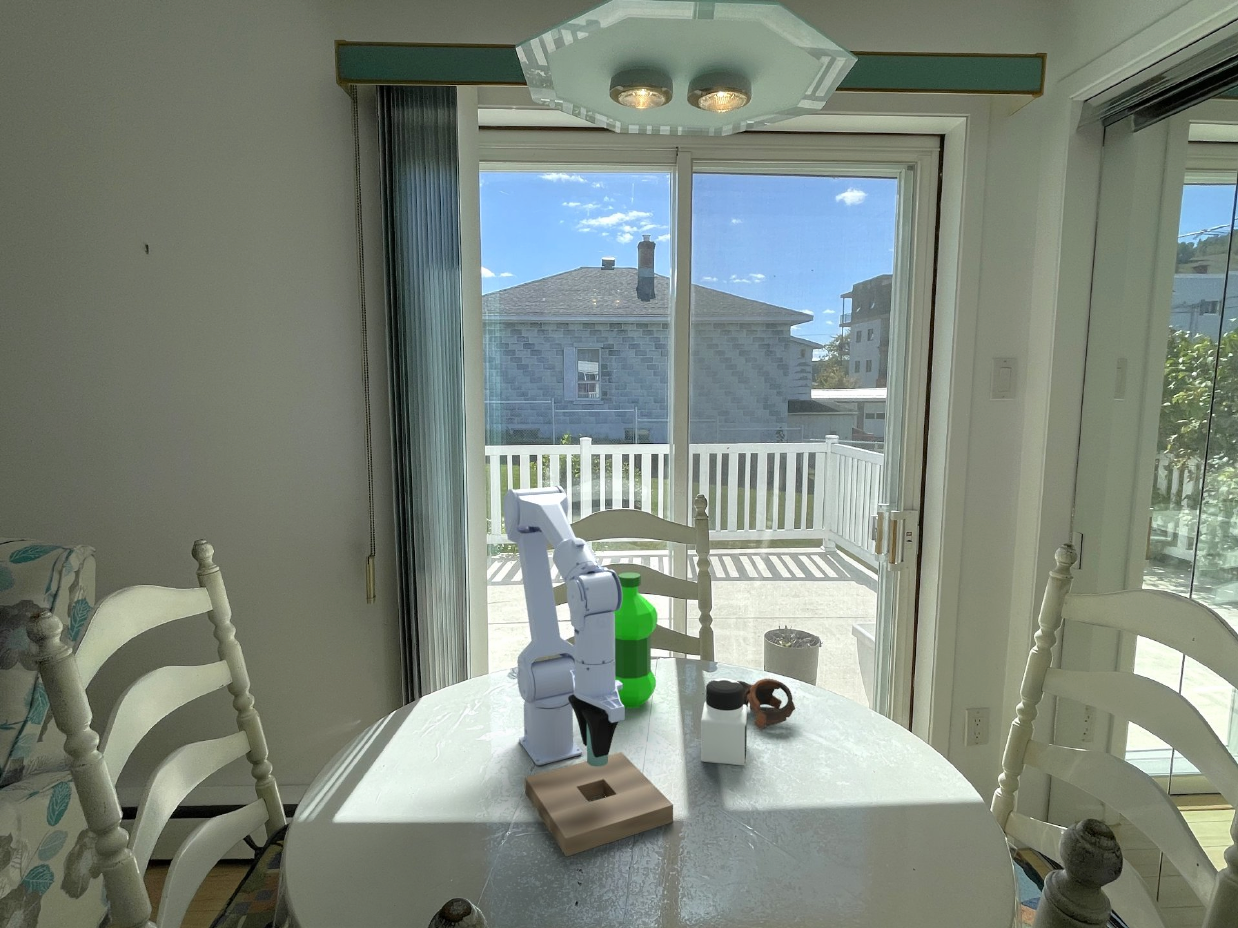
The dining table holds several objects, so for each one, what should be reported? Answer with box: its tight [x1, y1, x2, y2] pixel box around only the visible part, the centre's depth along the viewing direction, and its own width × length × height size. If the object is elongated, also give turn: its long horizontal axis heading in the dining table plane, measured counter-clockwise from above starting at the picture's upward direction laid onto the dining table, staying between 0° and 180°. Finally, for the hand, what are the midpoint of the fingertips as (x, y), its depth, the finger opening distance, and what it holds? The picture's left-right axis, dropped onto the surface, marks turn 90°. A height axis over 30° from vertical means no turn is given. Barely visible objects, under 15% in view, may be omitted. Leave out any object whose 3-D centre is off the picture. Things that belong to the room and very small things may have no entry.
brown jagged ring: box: [736, 678, 796, 730], centre depth 126 cm, size 12×10×8 cm
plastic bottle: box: [614, 572, 658, 709], centre depth 132 cm, size 10×10×25 cm
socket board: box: [524, 751, 674, 857], centre depth 99 cm, size 16×16×2 cm
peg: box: [586, 725, 609, 767], centre depth 99 cm, size 3×3×6 cm
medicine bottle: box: [700, 678, 748, 767], centre depth 113 cm, size 7×7×12 cm
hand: (596, 749), depth 99 cm, fingers closed on peg, 3 cm apart
